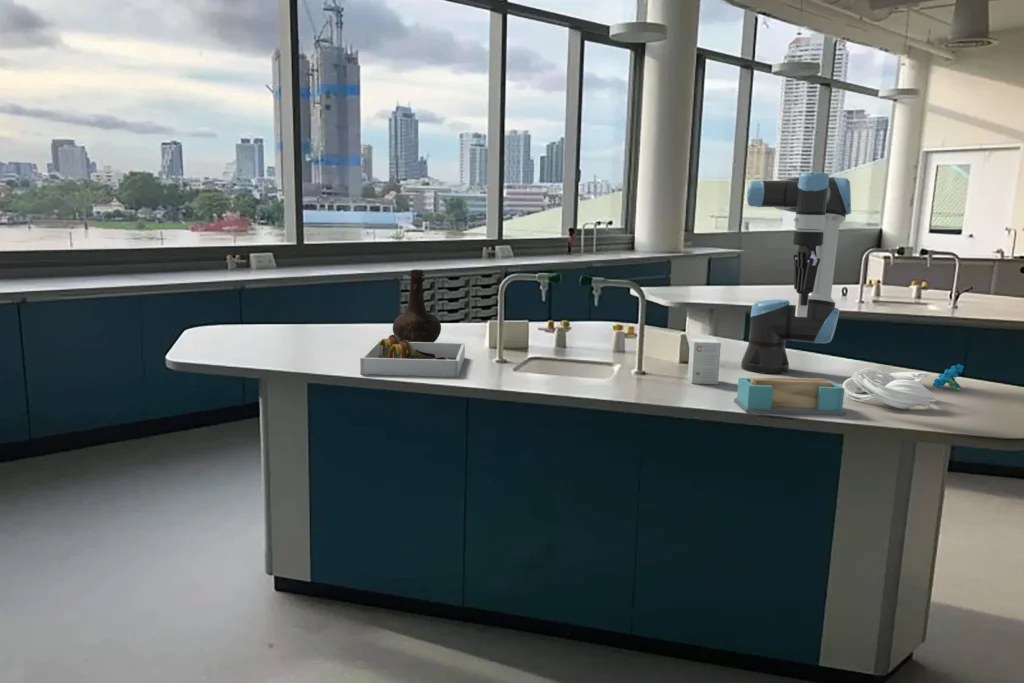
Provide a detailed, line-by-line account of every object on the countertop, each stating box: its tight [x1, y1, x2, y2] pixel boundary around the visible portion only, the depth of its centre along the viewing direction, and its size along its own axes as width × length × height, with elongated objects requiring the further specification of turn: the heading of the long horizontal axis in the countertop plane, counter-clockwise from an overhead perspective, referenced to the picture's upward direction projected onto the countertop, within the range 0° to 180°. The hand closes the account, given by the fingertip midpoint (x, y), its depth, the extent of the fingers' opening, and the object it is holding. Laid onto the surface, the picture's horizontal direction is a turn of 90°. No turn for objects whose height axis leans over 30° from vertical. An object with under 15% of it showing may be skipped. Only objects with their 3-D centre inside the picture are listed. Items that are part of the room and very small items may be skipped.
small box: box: [687, 338, 722, 385], centre depth 231 cm, size 8×6×13 cm
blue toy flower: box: [932, 363, 965, 392], centre depth 232 cm, size 11×6×10 cm
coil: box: [841, 367, 937, 409], centre depth 213 cm, size 25×24×9 cm
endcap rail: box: [733, 377, 846, 416], centre depth 203 cm, size 11×26×7 cm, turn 90°
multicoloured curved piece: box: [380, 334, 449, 360], centre depth 244 cm, size 24×24×10 cm
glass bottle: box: [392, 268, 442, 343], centre depth 277 cm, size 18×18×28 cm
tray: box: [359, 340, 466, 378], centre depth 244 cm, size 29×30×5 cm
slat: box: [750, 376, 833, 408], centre depth 203 cm, size 4×20×7 cm, turn 89°
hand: (800, 316), depth 209 cm, fingers closed
